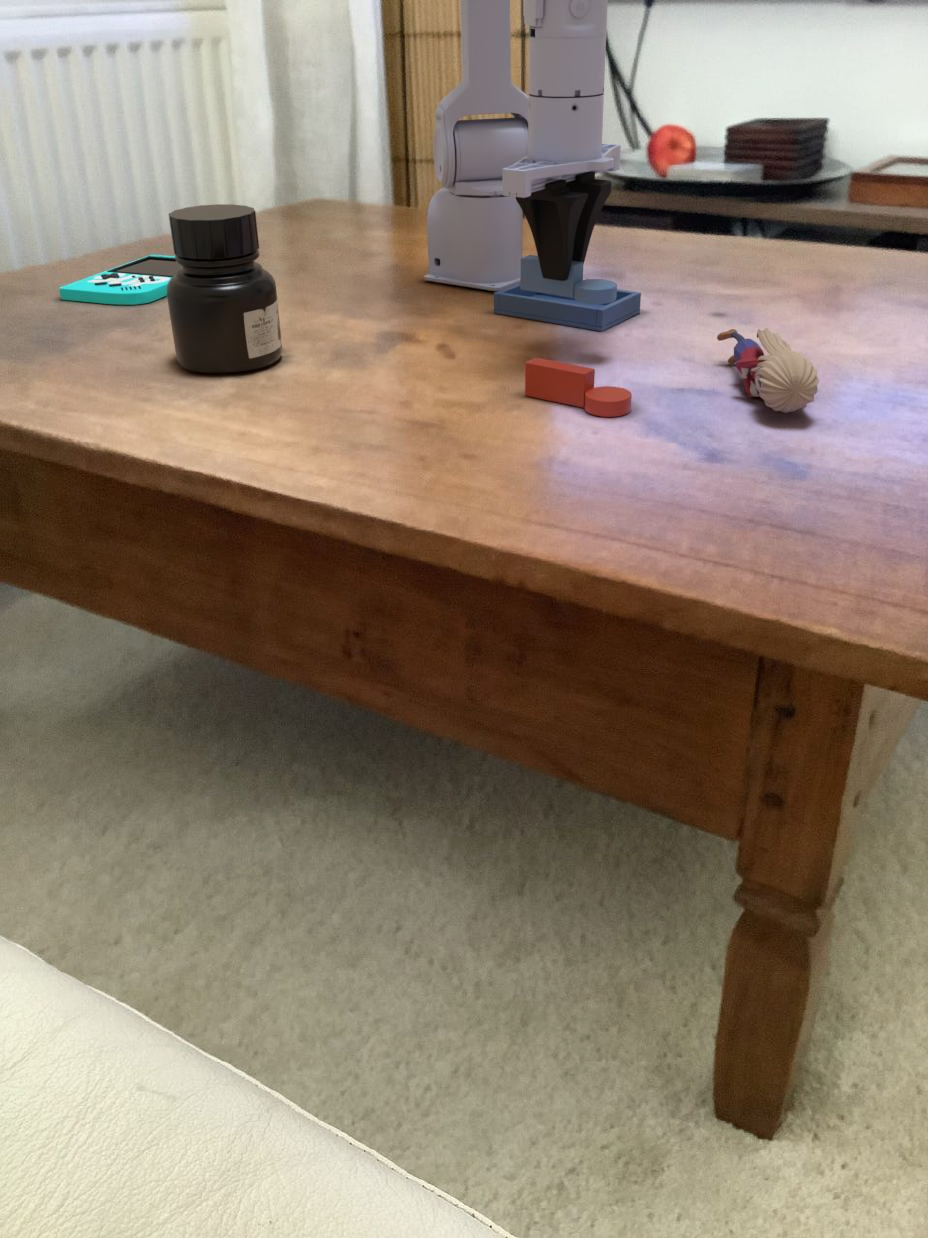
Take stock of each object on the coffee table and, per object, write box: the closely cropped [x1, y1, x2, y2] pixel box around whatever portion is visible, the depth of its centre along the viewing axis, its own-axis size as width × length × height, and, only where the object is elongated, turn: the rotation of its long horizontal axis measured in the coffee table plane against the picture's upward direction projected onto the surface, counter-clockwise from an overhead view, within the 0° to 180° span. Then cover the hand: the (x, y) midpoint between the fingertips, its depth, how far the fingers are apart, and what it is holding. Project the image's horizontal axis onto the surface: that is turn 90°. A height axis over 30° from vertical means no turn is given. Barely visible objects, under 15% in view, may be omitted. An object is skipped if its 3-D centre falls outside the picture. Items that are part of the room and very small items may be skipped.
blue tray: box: [493, 283, 642, 332], centre depth 106 cm, size 12×7×2 cm, turn 54°
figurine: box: [716, 328, 820, 414], centre depth 85 cm, size 6×4×15 cm
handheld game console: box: [58, 254, 182, 306], centre depth 119 cm, size 10×16×1 cm, turn 158°
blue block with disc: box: [520, 254, 618, 304], centre depth 92 cm, size 8×3×3 cm, turn 54°
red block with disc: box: [524, 357, 633, 418], centre depth 84 cm, size 8×3×3 cm, turn 54°
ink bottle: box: [166, 203, 283, 374], centre depth 93 cm, size 10×9×12 cm
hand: (561, 276), depth 93 cm, fingers closed on blue block with disc
